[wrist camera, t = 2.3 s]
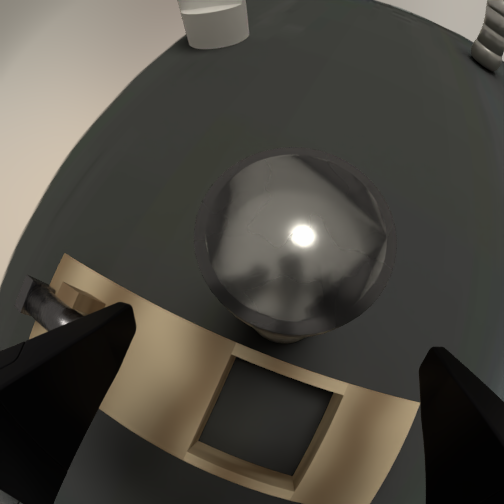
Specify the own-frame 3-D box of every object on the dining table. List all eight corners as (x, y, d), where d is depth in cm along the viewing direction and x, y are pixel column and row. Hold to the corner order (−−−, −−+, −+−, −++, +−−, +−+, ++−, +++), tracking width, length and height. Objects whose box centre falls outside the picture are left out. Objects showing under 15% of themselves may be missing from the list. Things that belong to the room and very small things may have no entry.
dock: (403, 398, 15) (446, 408, 10) (354, 497, 12) (377, 535, 7) (82, 263, 20) (40, 237, 15) (47, 347, 18) (0, 338, 13)
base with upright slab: (252, 24, 33) (245, -39, 22) (245, 46, 30) (235, -30, 19) (196, 29, 34) (183, -31, 23) (181, 52, 31) (161, -18, 20)
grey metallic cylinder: (337, 282, 18) (407, 182, 7) (308, 360, 16) (365, 365, 6) (261, 255, 19) (243, 130, 9) (229, 329, 18) (159, 283, 7)
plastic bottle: (498, 80, 28) (529, 5, 9) (469, 61, 29) (497, -18, 11) (493, 67, 30) (520, -1, 11) (466, 50, 31) (489, -21, 12)
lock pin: (110, 329, 15) (87, 323, 13) (96, 363, 15) (72, 361, 12) (48, 284, 17) (26, 274, 15) (36, 313, 16) (14, 305, 14)
